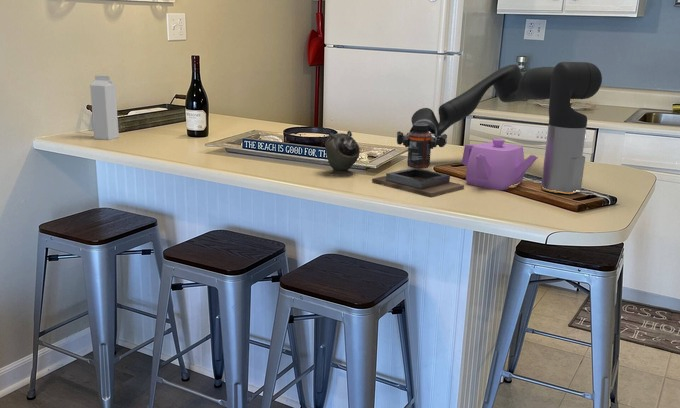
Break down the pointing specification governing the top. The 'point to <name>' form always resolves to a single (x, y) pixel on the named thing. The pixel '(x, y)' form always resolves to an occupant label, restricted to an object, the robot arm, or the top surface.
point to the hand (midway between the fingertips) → (419, 144)
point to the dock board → (427, 192)
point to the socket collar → (428, 181)
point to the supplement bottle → (419, 146)
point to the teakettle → (495, 164)
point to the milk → (104, 108)
